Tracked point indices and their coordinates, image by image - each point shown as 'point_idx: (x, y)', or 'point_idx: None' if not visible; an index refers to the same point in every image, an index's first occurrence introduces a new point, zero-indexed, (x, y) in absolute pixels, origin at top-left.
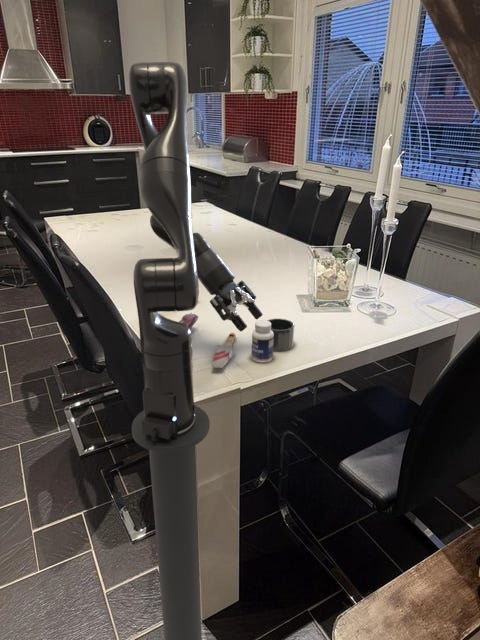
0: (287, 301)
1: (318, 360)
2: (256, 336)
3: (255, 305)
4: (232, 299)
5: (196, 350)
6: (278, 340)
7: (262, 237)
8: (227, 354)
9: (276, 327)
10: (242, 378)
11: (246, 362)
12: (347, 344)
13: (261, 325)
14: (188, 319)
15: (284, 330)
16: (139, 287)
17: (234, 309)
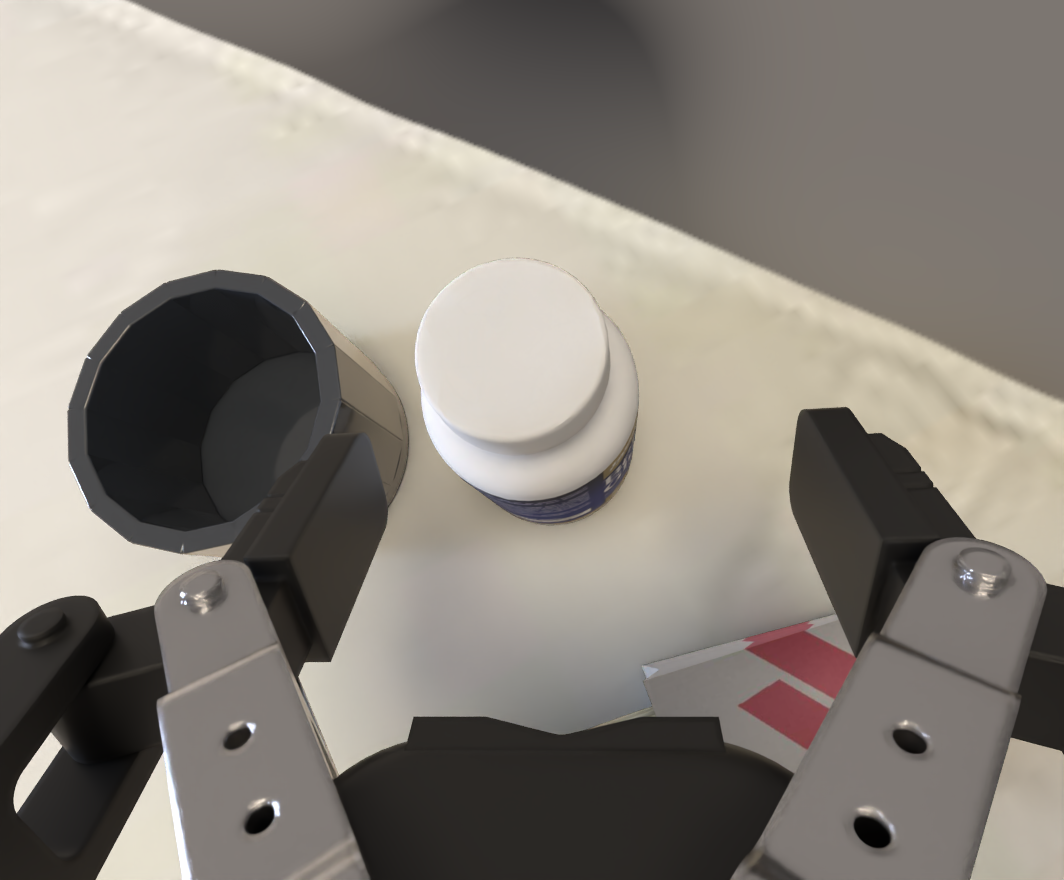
0: None
1: (397, 141)
2: (633, 402)
3: (271, 528)
4: (939, 814)
5: None
6: (370, 373)
7: None
8: (782, 649)
9: (158, 490)
10: (900, 420)
11: (674, 515)
12: (120, 96)
13: (579, 331)
14: None
15: (305, 302)
16: None
17: (949, 625)
